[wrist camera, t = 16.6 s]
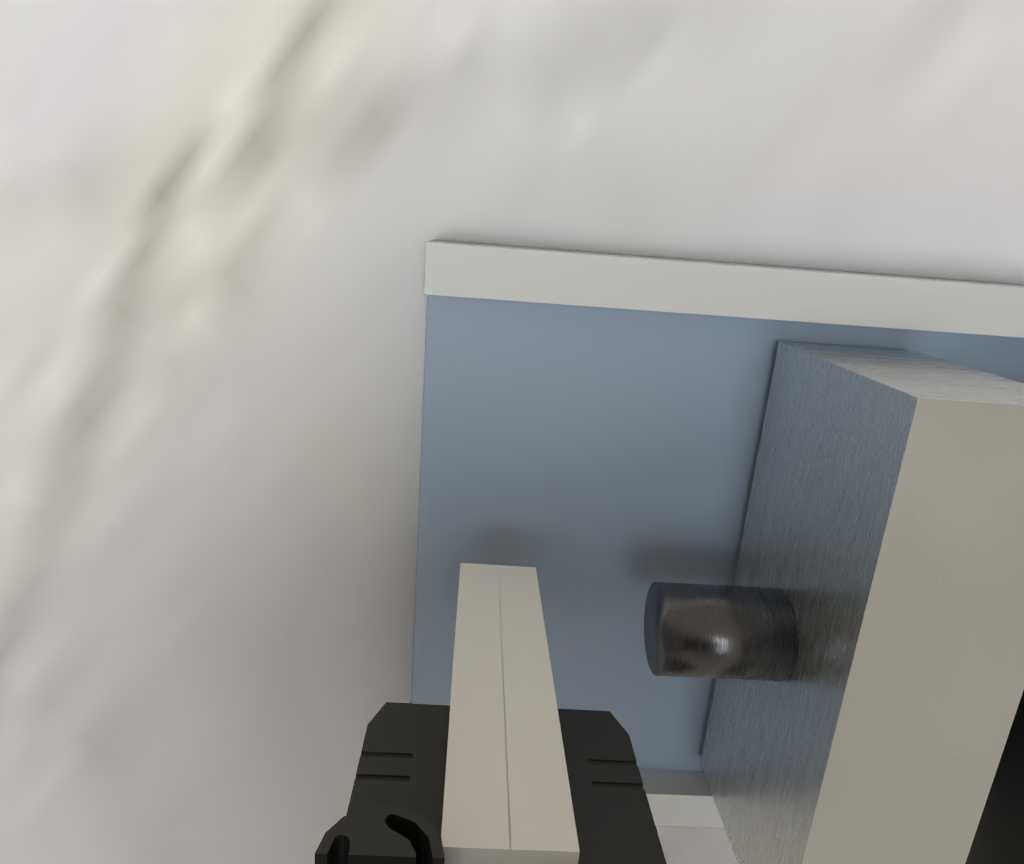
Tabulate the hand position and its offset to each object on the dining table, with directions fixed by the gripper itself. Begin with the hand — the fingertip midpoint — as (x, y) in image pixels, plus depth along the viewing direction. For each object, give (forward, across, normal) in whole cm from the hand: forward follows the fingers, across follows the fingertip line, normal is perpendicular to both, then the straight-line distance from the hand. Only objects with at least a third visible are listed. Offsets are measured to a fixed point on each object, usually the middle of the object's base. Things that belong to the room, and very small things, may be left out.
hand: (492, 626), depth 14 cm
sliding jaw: (+2, -6, 0) cm, 6 cm away
